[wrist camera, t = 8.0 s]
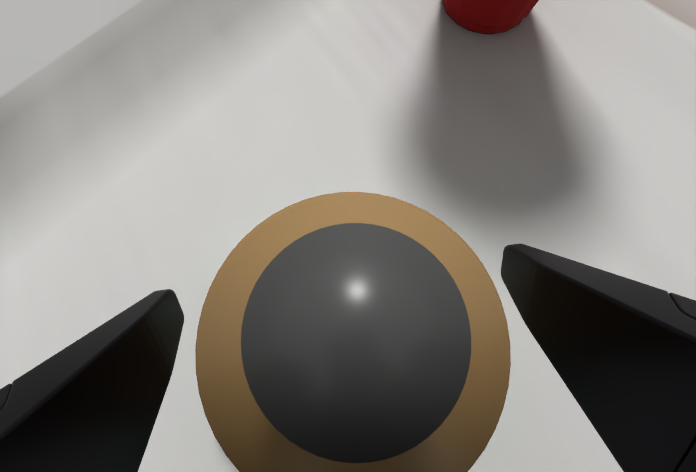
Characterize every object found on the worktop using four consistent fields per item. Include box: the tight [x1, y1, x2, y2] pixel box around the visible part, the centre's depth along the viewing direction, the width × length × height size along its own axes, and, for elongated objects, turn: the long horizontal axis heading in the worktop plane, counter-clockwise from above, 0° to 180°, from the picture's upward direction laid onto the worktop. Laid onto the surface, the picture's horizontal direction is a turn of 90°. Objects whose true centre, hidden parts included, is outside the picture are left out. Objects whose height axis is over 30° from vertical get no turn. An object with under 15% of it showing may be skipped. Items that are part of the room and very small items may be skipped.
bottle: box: [196, 192, 511, 472], centre depth 10 cm, size 5×5×13 cm
